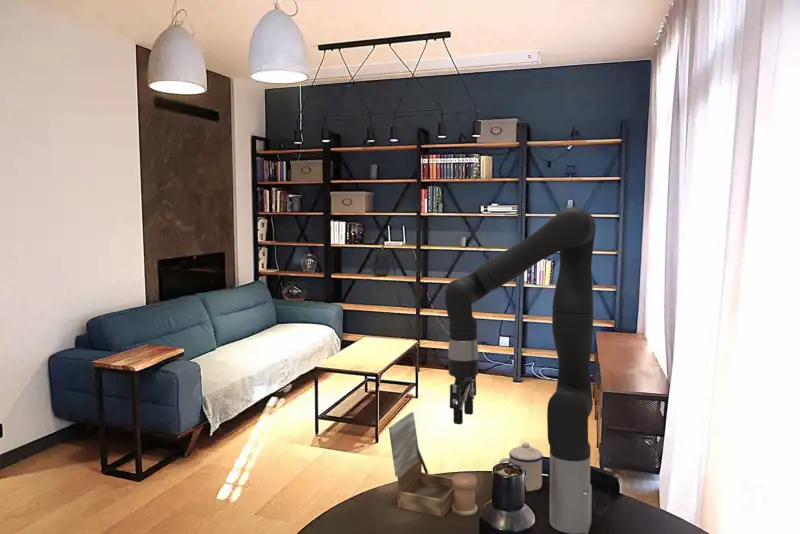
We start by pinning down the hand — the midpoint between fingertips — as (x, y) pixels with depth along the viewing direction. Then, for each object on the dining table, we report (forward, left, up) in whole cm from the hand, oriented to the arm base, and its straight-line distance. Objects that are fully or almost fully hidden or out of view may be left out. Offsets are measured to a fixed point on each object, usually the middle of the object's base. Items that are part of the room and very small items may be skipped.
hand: (463, 418), depth 149 cm
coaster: (-1, +3, -22) cm, 22 cm away
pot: (-1, +3, -21) cm, 22 cm away
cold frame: (+10, +2, -22) cm, 24 cm away
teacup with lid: (-11, -17, -22) cm, 30 cm away
